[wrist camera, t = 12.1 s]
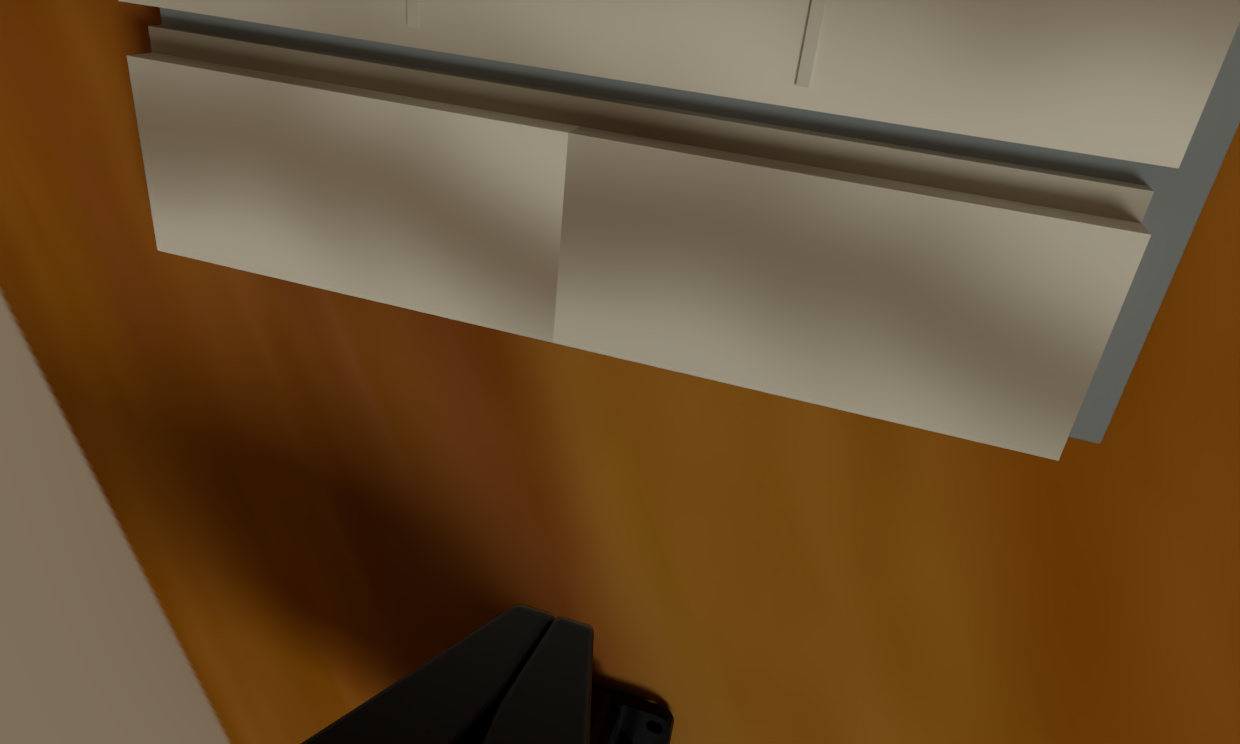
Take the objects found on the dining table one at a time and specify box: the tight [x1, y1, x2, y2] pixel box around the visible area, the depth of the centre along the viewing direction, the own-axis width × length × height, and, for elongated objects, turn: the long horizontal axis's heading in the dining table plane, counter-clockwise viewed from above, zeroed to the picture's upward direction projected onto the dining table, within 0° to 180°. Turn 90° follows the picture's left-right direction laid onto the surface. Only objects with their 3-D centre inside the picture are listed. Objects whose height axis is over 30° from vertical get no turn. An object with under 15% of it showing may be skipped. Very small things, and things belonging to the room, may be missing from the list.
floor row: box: [127, 25, 1154, 461], centre depth 19 cm, size 5×22×1 cm, turn 84°
